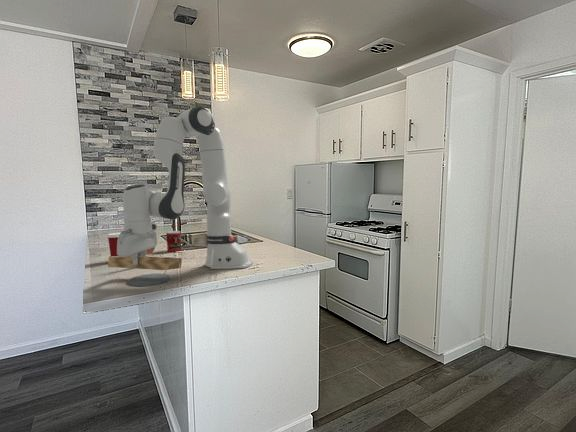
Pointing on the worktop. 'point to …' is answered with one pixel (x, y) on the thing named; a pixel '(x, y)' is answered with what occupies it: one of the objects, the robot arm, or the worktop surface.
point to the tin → (148, 251)
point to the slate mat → (148, 279)
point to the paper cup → (113, 243)
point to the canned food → (173, 241)
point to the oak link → (145, 262)
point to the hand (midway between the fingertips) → (139, 263)
